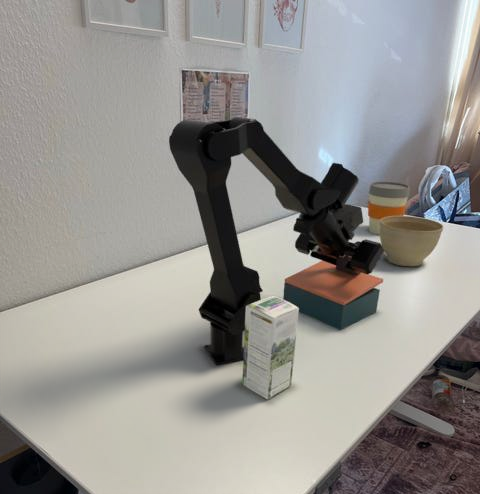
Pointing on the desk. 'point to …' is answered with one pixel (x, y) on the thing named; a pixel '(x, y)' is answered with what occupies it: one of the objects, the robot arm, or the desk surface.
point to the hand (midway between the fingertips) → (350, 268)
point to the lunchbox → (332, 306)
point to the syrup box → (269, 345)
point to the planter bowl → (409, 239)
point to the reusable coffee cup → (386, 202)
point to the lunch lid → (334, 281)
